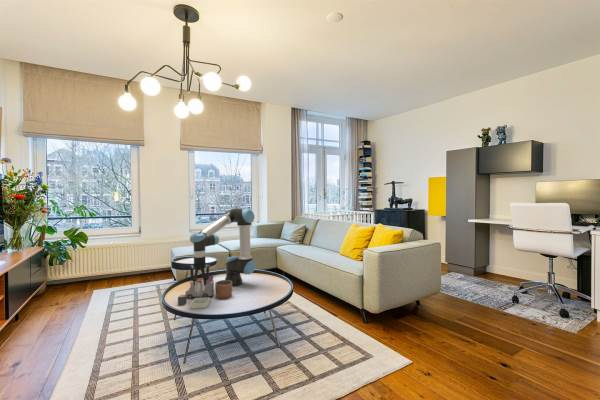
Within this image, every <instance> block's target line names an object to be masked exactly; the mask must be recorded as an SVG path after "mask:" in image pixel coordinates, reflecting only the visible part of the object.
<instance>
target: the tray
mask: <svg viewBox="0 0 600 400" xmlns="http://www.w3.org/2000/svg"><path fill="white" fill-rule="evenodd" d="M210 303H211V296H209V298H201V297H195V298H194V299H193V300H192V301H191V302H190V303H189V307H190V309H207V308H208V307H209V304H210Z"/></svg>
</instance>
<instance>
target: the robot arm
mask: <svg viewBox="0 0 600 400" xmlns="http://www.w3.org/2000/svg"><path fill="white" fill-rule="evenodd" d="M254 221H255V213H254V211H253V210H252V209H251V208H243V207H242V208H241V207H240V208H239V207H237V208H233V209H230V210H228V211H226V212H225V213H223V214H221V217H220V218H218V219H217V220H215V221H214V222H212V223H210V224H209V225H207V226H206V227H204V229H202V230H200V231H199V232H195V233H192V234H191V235H190V237H189V241H190V243H191V244H193V264H192V265H190V266H189V267H188V268H189V271H190V281H192V280H193V281H194V286H195V291H197V281H196V279H198V274H199V271H200V272H201V275H202V283H203V291H204V290H205V285H206V280H208V279H209V276H210V267H211V265H210V264H207V263H206V247H210V246H216V245H218V244H219V242H220V238H219V236H218V234H216V233H217V232H219V231H220V230H221V229H223V228H224V227H226V226H227V225H230V224H233V223H237V224H236V226H238V228H239V229H238V230H239V231H238V232H239V233H238V234H239V255H233V256H228V257H227V258H226V260H225V269H226V270H225V271H226V273H225V274H226V275H225V279H224V280H230V281H232V287H238V286H240V285H242V284H243V278H242V275H241V274H244V275H251V274H252V273H253V272H255V269H256V265H257V264H256V261H255V260H254V259H253V256H252V255H251V227H252V224H253V222H254ZM194 269H195V271H194ZM205 270H206V271H205Z"/></svg>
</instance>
